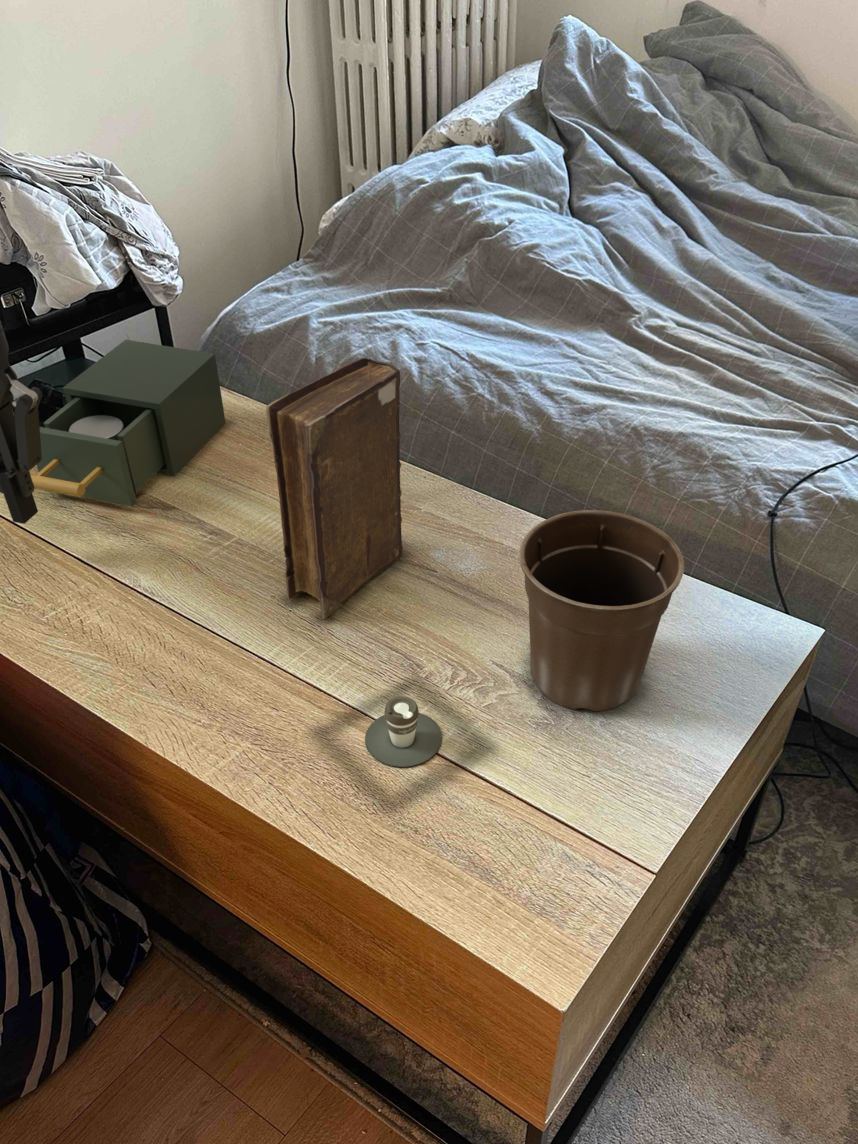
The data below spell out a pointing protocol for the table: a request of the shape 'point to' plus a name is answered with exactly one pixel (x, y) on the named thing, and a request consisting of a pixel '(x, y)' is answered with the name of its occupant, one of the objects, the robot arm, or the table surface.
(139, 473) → the drawer
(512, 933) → the table surface
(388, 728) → the coffee cup
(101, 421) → the tin can
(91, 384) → the cabinet
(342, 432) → the book
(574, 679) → the plant pot
